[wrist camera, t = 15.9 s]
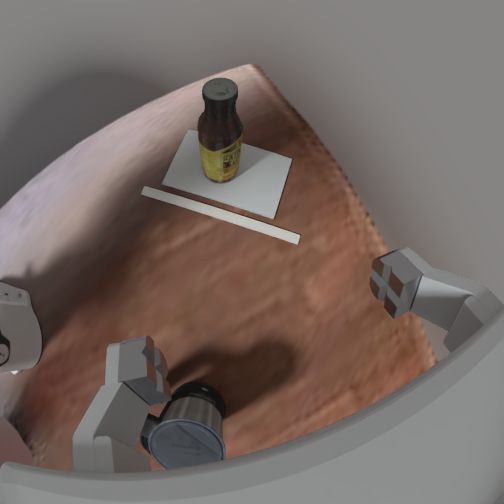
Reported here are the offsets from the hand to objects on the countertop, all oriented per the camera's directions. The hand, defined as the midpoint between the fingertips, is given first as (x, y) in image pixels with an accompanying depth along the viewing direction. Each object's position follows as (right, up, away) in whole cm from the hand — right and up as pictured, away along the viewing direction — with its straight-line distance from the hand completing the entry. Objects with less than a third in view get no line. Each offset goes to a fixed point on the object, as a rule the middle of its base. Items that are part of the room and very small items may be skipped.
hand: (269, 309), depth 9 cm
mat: (-5, +16, +37) cm, 41 cm away
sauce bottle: (-6, +16, +37) cm, 41 cm away
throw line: (-6, +8, +36) cm, 37 cm away
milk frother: (-12, -26, +30) cm, 42 cm away
